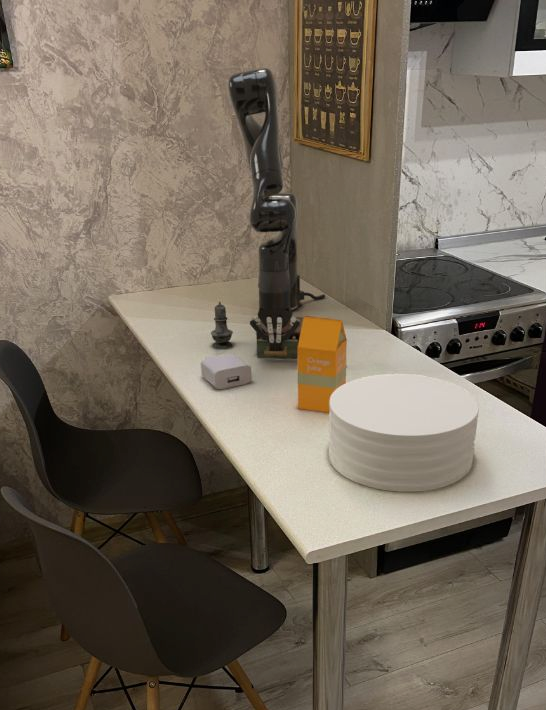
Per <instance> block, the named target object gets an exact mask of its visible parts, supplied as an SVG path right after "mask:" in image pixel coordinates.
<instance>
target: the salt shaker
mask: <svg viewBox="0 0 546 710" xmlns="http://www.w3.org/2000/svg"><path fill="white" fill-rule="evenodd" d="M226 309H227V308H226V306H225V305H224V304H222V303H221V301H218V304H217V305H215V306H214V316H215V317H214V318H213V320H214V324H215V325H214V326H215V327H214V330H212V331H210V335H211V338H212V340H213V341H214V343H213V344H212V347H213V348H215V349H219V350H223V349H229V348H231V347H233V343H232V342H231V341H230V340H231V339H232V334H233V333H234V332H233V330H232V329H229V328H228V322H227V320H228V317H227V310H226Z"/></svg>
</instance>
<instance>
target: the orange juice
mask: <svg viewBox="0 0 546 710" xmlns="http://www.w3.org/2000/svg"><path fill="white" fill-rule="evenodd" d="M302 317H303V323H302V328H301V333H300V338H299V343H298V346H297V349H298V358H297V409H301V410H307V411H314V412H321V413H327V414H329V412H330V409H329V401H330V397H331V395H332V393H333V392H334V391H335V390H336V389H337V388H339V387H340V386H342V385H343V384H345V383H347V382H346V381H347V347H348V346H347V345H348V343H347V342H348V341H347V340H348V339H347V335H346V331H345V327H344V323H343V320H342V319H334V318H324V317H315V316H305V315H303V316H302Z"/></svg>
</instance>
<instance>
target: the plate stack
mask: <svg viewBox="0 0 546 710" xmlns="http://www.w3.org/2000/svg"><path fill="white" fill-rule="evenodd" d="M479 405H480V404H479V402H478V400H477V398H476V397H475V396H474V395H473V394H472V393H471V392H470V391H468V390H467V389H465V388H464V387H462V386H460V385H458V384H455V383H453V382H451V381H447V380H445V379H442V378H438V377H433V376H428V375H421V374H410V373H384V374H383V373H381V374H374V375H373V374H372V375H367V376H363V377H359V378H356V379H353V380H350V381H347V382H346V383H345V384H343V385H342V386H340V387H339V388H337V389H336V390H335V391H334V392H333V393H332V395H331V397H330V401H329V409H330V412H329V413H328V421H329V423H328V432H329V435H328V458H329V461H330V463H331V465H332V467H333V468H334V469H335V470H336V472H338V473H339V474H340V475H342V476H343V477H345V478H347V479H349V480H350V481H352V482H354V483H357V484H359V485H363V486H365V487H369V488H371V489H376V490H383V491H390V492H399V493H405V492H406V493H416V492H426V491H432V490H437V489H441V488H444V487H448V486H450V485H453V484H455V483H456V482H458V481H460V480H462V479H463V478H464V477H465V476H467V474H468V473H469V472H470V470H471V469H472V466H473V460H474V452H475V442H476V437H477V436H476V435H477V429H478V418H479V412H480V406H479Z"/></svg>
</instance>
